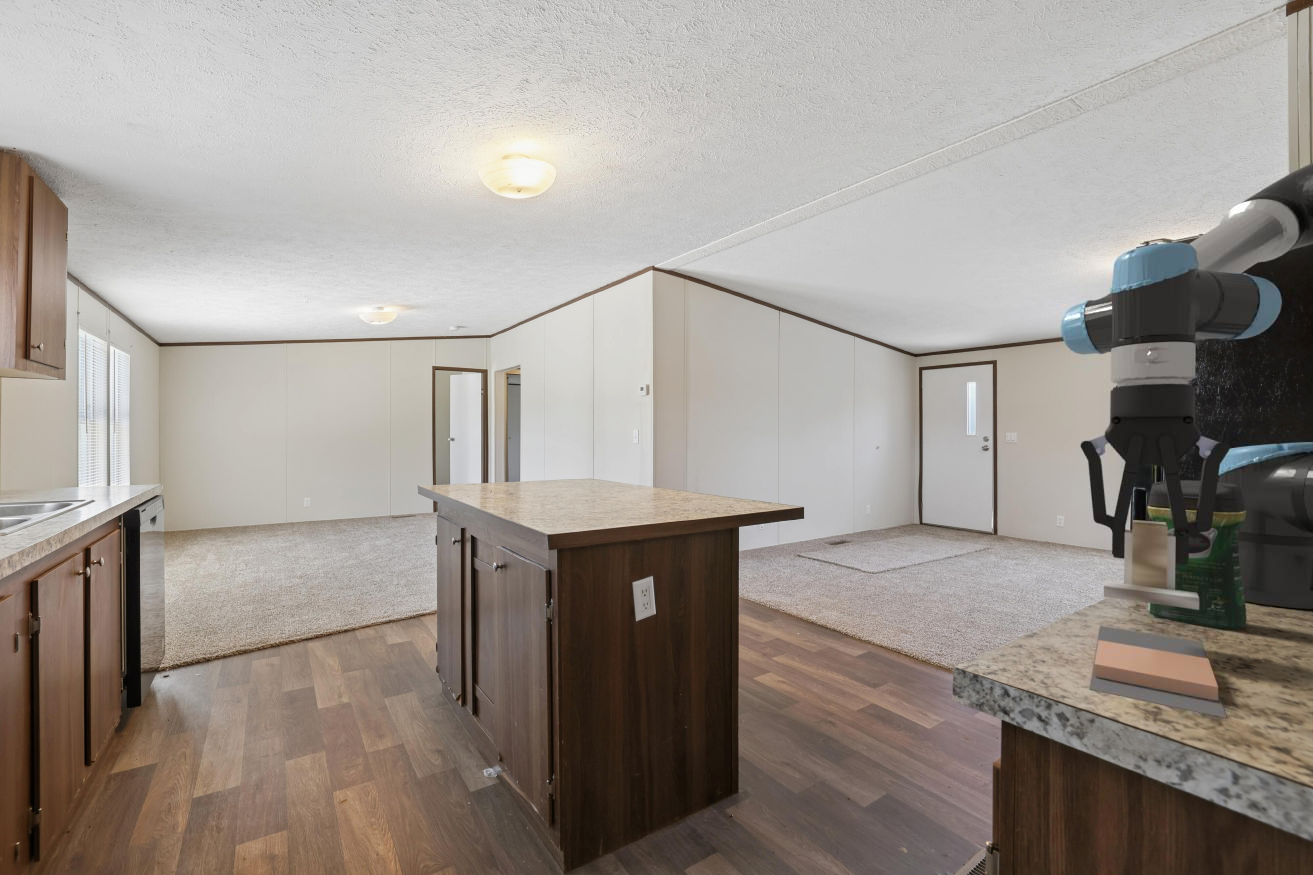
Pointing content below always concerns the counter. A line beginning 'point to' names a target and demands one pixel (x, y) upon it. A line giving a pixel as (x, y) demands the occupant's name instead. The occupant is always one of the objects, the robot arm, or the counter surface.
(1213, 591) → the coffee jar
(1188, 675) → the tile
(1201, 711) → the mat
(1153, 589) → the upright block with backplate
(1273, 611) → the counter surface
